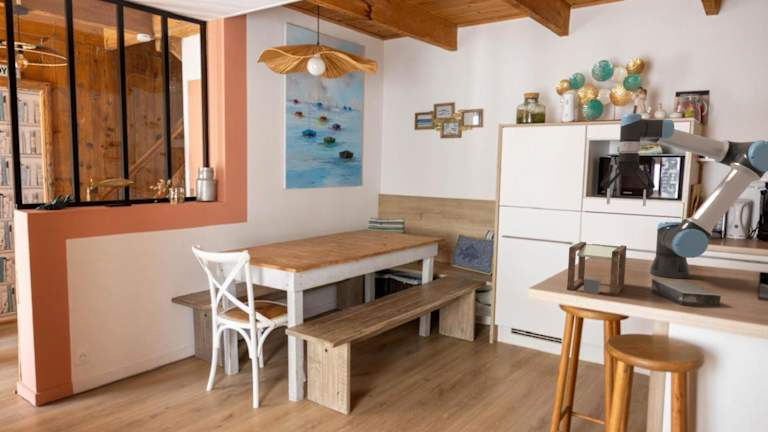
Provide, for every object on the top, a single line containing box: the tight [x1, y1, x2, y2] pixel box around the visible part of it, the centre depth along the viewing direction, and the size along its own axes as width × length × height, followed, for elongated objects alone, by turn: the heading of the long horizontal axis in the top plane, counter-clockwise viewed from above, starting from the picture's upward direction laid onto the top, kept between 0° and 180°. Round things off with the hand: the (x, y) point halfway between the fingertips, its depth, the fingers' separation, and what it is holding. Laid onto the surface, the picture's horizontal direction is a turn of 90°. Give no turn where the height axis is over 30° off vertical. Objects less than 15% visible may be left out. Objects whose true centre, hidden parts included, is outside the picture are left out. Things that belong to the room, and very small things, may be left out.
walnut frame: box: [566, 241, 627, 297], centre depth 200 cm, size 17×19×16 cm
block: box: [650, 278, 721, 307], centre depth 187 cm, size 14×20×5 cm
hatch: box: [576, 243, 620, 261], centre depth 202 cm, size 12×21×6 cm, turn 147°
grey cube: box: [583, 276, 602, 295], centre depth 194 cm, size 5×5×5 cm
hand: (625, 205), depth 216 cm, fingers open, 13 cm apart
